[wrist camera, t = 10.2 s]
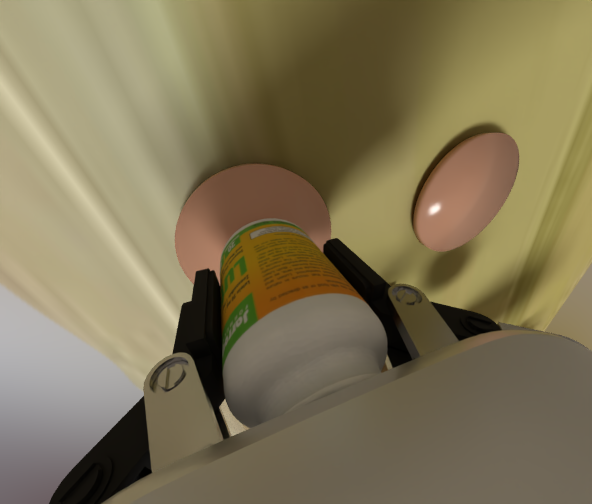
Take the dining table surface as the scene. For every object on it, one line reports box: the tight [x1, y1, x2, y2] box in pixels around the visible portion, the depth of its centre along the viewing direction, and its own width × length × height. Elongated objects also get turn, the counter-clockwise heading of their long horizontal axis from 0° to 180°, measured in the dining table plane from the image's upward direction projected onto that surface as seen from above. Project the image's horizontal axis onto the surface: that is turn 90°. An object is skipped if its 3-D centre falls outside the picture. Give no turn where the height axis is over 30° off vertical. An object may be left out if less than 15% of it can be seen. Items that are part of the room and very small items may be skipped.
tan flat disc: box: [175, 163, 331, 284], centre depth 14 cm, size 10×10×1 cm
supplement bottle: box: [220, 218, 388, 428], centre depth 8 cm, size 5×5×10 cm
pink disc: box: [413, 133, 519, 251], centre depth 18 cm, size 10×10×1 cm
